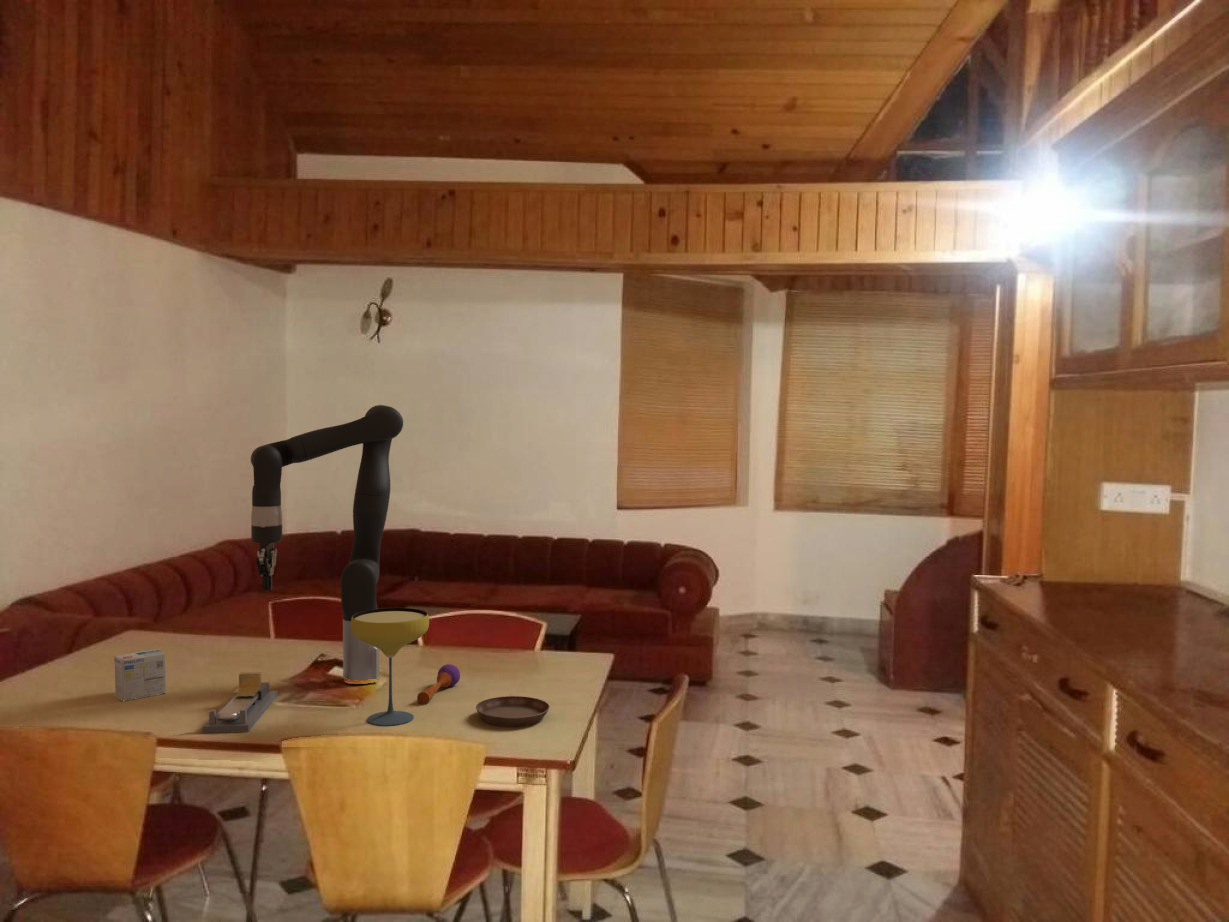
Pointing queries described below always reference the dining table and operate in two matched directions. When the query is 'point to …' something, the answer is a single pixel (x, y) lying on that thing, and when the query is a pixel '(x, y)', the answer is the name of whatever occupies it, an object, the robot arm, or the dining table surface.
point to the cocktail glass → (390, 645)
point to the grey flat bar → (236, 707)
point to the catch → (248, 684)
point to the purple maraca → (440, 682)
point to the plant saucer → (512, 710)
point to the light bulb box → (140, 674)
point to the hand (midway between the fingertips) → (267, 590)
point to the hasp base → (242, 714)
